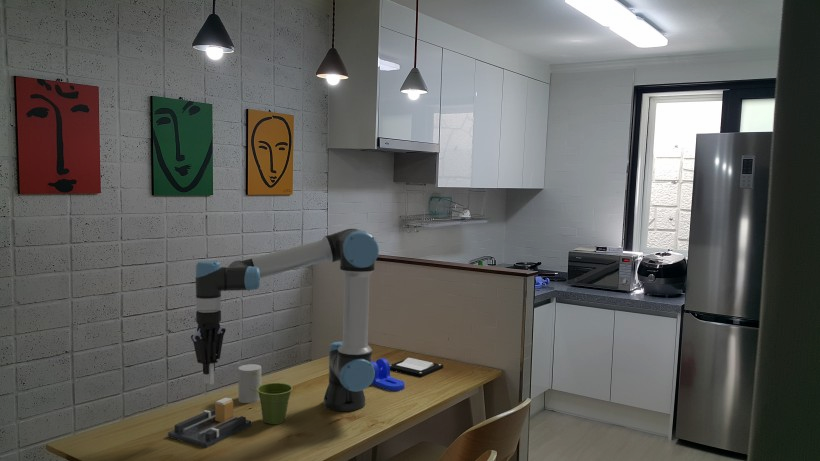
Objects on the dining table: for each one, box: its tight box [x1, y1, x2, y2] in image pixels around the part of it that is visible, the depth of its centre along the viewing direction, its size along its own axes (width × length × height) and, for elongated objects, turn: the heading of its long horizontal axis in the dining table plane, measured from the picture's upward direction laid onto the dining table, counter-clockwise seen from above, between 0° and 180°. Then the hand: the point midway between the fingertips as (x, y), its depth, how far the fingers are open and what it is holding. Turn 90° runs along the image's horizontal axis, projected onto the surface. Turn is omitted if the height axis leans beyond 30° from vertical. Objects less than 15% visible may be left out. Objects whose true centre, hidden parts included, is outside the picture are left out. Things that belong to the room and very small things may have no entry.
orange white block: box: [214, 397, 234, 422], centre depth 202 cm, size 4×4×7 cm
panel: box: [167, 415, 252, 448], centre depth 197 cm, size 16×20×3 cm
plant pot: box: [257, 382, 294, 425], centre depth 207 cm, size 12×12×11 cm
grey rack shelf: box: [174, 408, 247, 440], centre depth 197 cm, size 16×16×2 cm
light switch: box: [390, 357, 444, 378], centre depth 271 cm, size 18×3×18 cm
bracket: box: [371, 357, 406, 392], centre depth 247 cm, size 18×8×9 cm, turn 45°
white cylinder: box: [237, 363, 262, 404], centre depth 227 cm, size 8×8×12 cm
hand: (209, 383), depth 195 cm, fingers closed
